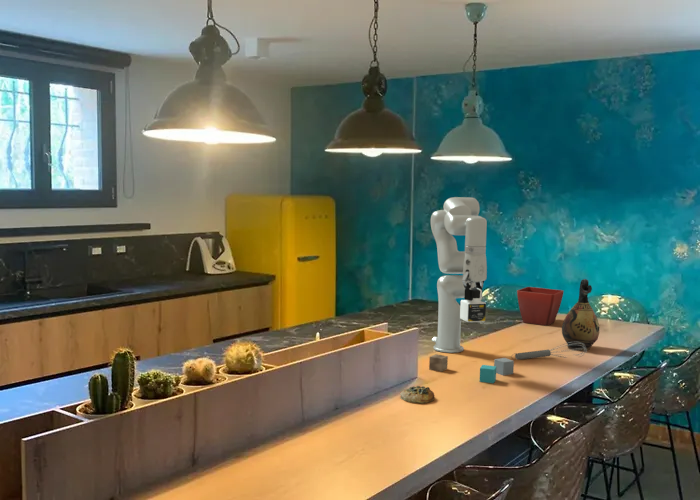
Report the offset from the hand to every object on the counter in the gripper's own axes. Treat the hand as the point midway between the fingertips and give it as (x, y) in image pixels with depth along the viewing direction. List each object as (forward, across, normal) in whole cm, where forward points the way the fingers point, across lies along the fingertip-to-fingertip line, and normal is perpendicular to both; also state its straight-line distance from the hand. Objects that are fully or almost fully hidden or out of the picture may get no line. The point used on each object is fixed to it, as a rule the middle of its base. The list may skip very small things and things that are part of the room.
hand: (473, 298), depth 253 cm
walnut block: (+27, -6, +10) cm, 30 cm away
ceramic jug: (+28, +67, -15) cm, 74 cm away
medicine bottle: (+8, 0, 0) cm, 8 cm away
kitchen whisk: (+28, +41, -13) cm, 51 cm away
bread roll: (+28, -42, -5) cm, 50 cm away
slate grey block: (+27, +6, -10) cm, 30 cm away
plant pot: (+28, +108, +22) cm, 114 cm away
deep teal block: (+27, -7, -11) cm, 30 cm away
